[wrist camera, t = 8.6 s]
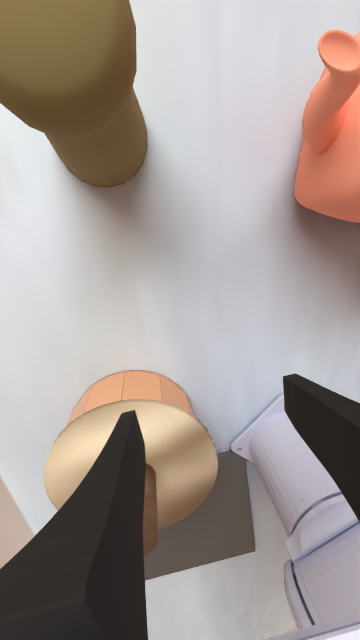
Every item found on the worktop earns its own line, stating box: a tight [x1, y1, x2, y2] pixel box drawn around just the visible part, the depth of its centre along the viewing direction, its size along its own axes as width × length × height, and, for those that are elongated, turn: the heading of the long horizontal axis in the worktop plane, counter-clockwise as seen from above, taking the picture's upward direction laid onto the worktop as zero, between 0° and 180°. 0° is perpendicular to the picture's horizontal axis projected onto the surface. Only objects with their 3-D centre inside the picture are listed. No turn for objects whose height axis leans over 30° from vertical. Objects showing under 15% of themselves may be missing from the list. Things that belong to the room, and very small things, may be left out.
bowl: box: [67, 370, 196, 426], centre depth 22 cm, size 11×11×4 cm
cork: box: [0, 0, 147, 187], centre depth 12 cm, size 6×6×11 cm
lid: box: [44, 399, 218, 556], centre depth 18 cm, size 13×13×5 cm
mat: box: [144, 451, 255, 580], centre depth 30 cm, size 16×17×1 cm
